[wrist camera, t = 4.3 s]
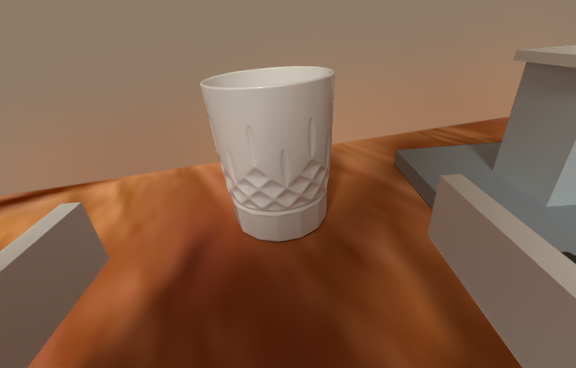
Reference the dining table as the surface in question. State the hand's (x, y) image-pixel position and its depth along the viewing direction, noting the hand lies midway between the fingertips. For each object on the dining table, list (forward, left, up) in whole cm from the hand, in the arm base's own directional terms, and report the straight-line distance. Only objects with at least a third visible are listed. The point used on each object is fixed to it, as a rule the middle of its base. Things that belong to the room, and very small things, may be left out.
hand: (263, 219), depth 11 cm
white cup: (0, -9, -6) cm, 11 cm away
